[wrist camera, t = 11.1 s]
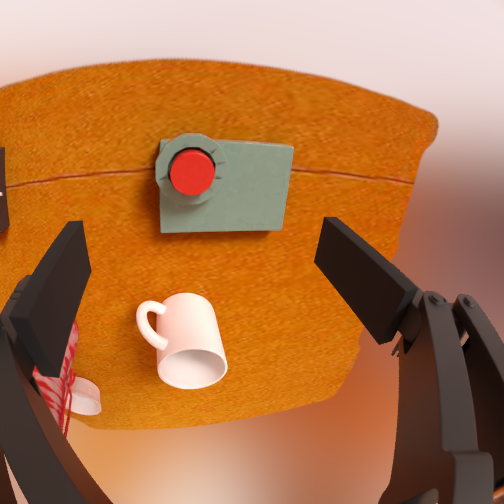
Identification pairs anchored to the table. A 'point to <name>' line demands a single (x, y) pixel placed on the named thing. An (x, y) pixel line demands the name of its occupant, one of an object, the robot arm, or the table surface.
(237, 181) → the housing
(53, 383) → the water bottle
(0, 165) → the panel
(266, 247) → the table surface
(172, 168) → the button
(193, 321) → the mug
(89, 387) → the ramekin
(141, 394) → the table surface
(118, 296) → the table surface
